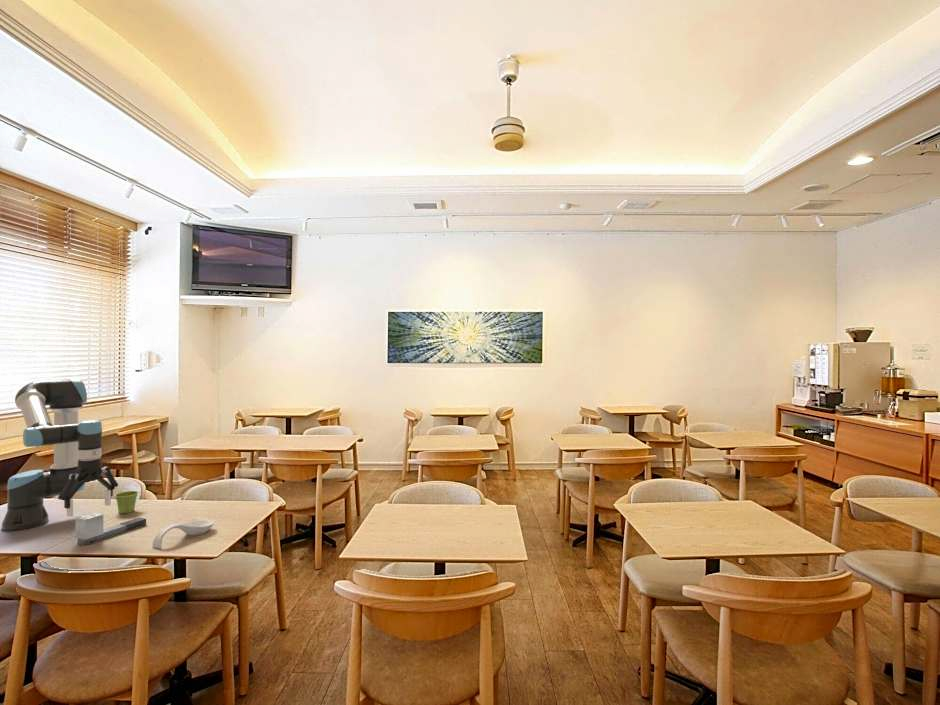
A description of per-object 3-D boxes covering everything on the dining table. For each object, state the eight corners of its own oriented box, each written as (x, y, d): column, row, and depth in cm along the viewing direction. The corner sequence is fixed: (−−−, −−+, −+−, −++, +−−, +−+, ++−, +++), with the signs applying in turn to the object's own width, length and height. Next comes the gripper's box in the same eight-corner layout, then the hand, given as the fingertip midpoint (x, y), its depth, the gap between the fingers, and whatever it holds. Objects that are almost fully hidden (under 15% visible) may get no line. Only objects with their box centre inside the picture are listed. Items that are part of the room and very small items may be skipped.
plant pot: (143, 509, 227) (143, 491, 227) (124, 515, 218) (124, 497, 218) (128, 507, 229) (128, 490, 229) (109, 513, 220) (109, 495, 220)
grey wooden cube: (75, 537, 186) (75, 517, 186) (93, 531, 192) (93, 512, 192) (85, 539, 183) (85, 519, 183) (103, 533, 189) (103, 514, 189)
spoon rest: (200, 526, 205) (200, 510, 205) (219, 530, 201) (219, 513, 201) (146, 546, 183) (146, 528, 183) (166, 551, 179) (166, 533, 179)
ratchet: (85, 545, 184) (85, 529, 184) (77, 543, 186) (77, 527, 186) (146, 524, 206) (146, 510, 206) (138, 523, 208) (138, 508, 208)
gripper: (58, 466, 175) (58, 522, 175) (128, 453, 198) (127, 502, 198) (47, 464, 177) (46, 519, 178) (116, 451, 201) (116, 499, 201)
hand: (89, 510), depth 188 cm, fingers open, 13 cm apart
